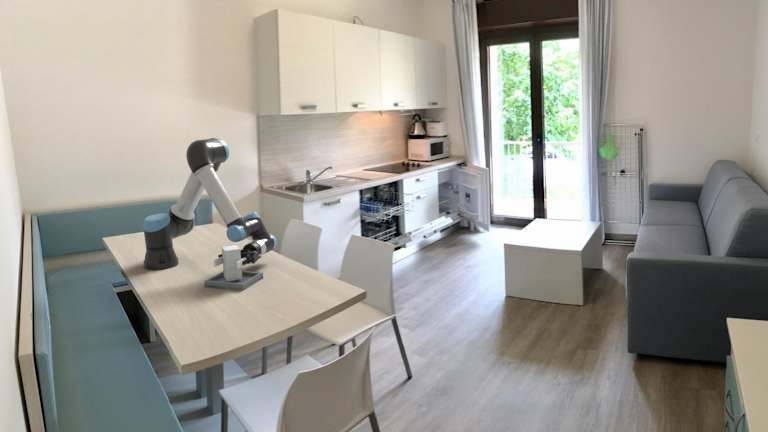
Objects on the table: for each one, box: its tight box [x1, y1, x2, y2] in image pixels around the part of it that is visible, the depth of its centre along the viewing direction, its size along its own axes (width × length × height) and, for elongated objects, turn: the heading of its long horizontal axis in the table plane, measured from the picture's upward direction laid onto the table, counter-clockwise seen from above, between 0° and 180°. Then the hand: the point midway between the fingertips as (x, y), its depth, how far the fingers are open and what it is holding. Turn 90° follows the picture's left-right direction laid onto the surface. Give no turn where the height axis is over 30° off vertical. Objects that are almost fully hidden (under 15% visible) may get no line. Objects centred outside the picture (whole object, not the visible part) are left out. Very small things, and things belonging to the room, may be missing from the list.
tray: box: [204, 270, 264, 291], centre depth 232 cm, size 18×16×2 cm
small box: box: [221, 244, 243, 281], centre depth 231 cm, size 8×6×13 cm
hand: (225, 264), depth 227 cm, fingers closed on small box, 10 cm apart
